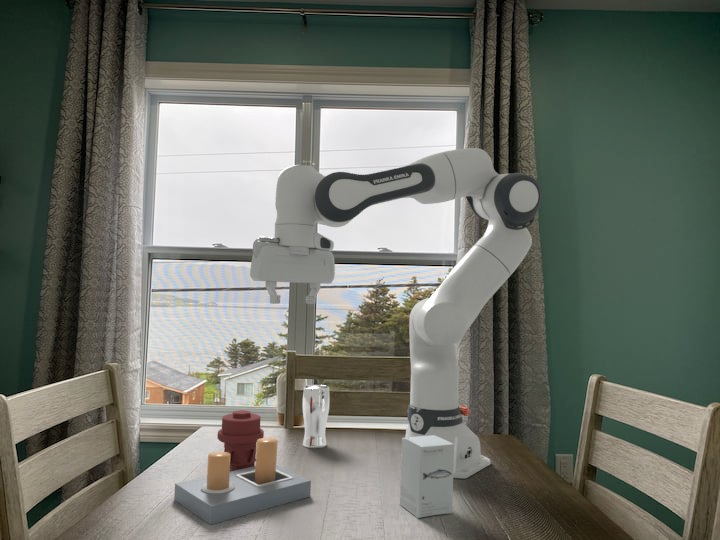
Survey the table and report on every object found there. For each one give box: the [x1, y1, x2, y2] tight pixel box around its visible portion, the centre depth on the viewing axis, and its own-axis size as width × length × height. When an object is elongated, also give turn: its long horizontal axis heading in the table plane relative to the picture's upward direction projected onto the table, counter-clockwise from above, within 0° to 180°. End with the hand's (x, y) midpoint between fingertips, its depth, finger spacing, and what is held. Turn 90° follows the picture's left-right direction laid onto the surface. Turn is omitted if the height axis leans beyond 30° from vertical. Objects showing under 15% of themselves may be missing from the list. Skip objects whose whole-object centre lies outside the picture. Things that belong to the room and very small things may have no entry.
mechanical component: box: [217, 409, 265, 471], centre depth 122 cm, size 12×10×10 cm
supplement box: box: [399, 435, 454, 519], centre depth 102 cm, size 7×7×13 cm
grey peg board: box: [173, 451, 312, 525], centre depth 104 cm, size 21×14×9 cm, turn 133°
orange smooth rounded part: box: [254, 437, 279, 485], centre depth 107 cm, size 4×4×9 cm
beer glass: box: [302, 384, 330, 449], centre depth 142 cm, size 7×7×15 cm
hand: (293, 303), depth 118 cm, fingers open, 8 cm apart
